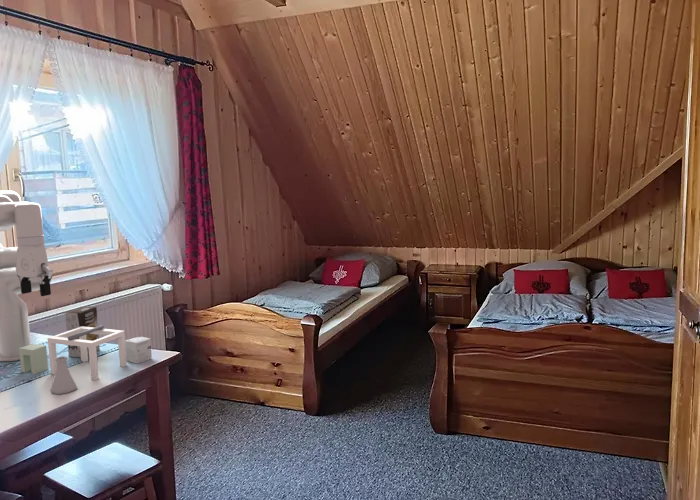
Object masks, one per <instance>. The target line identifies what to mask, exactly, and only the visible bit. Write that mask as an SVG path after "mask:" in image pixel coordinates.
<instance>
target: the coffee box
mask: <svg viewBox="0 0 700 500" xmlns="http://www.w3.org/2000/svg"><path fill="white" fill-rule="evenodd" d="M97 310H98V309H97V306H80V307H77V308H75V309H72V310H68V311H66V312H64V313H65V314H64V315H65V323H66V325H65V326H66V332H67V331H70V330H73V329H76V328H79V327H81V326H83V327H93V328H95V327H98V326H99V324H98V311H97ZM99 336H100V335H99V334H90V333H89V334H86V340H90V341H94V340H97V339H99ZM67 338H68V337H67ZM75 339H79V337H78V338H75ZM67 347H68V348H67V352H68V357H73V358H81V351H80V346H73V345H67ZM99 350H101V349H100V345H98V346H96V352H98V351H99ZM87 352H88V356H89V348H88V347H87Z"/></svg>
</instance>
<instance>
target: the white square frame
mask: <svg viewBox="0 0 700 500" xmlns="http://www.w3.org/2000/svg"><path fill="white" fill-rule="evenodd" d="M89 333H90V334H99V336H103V337H100V338H99V339H97V340H94V341H90V340H86V334H89ZM125 335H126V334H125V330H122V329H121V330H120V329H111V328H110V329H109V328H105V325H103V324H101V325H98V327H95V328H93V327H83V326H81V327H79V328H76V329H73V330H70V331H67V330H66V331H64V332H61V333H58V334H56V335H53V336H49V337H47V345H48V346H47V347H48V348H47V349H48V356H49V357H48V358H49V368H50V374H51V375H54V376H55V373H56V369H57V361H56V360H55V358H57V357H58V355H57V354H58V353H57V346H56V344H57V345H66V346H68V345H73V346H80V351H81V357H80V361H81V362H83V363H85V362H89V368H90V369H89V370H90V380H91V381H97V380H99V369H98V368H99V366H98V355H97V354H98V353H97V351H96V346H98V345H99V346H101V345H103V344H105V343H109V342H110V341H113V340H116V339H117V342H118V343H117V345H118V357H119V358H118V359H119V366H120V367H121V368H124V367H127V366H128V363H127V362H128V361H126V346H125V341H126V338H125V337H126V336H125ZM67 337H68V338H67ZM78 337H79V339H75V338H78ZM87 347H88V348H89V355H88V352H87Z"/></svg>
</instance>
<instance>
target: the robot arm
mask: <svg viewBox="0 0 700 500" xmlns="http://www.w3.org/2000/svg"><path fill="white" fill-rule="evenodd" d="M42 215H43V214H42V207H41V205H40V204H39V203H37V202H30V201H22V200H21V196H20V195H19V193H17V192H16V191H14V190H0V232H8V231H10V230H11V229H13V228H14V226H15V233H16V241H17V246H14V247H13V246H12V247H5V246H3V245H2V243H1V242H0V362H15V361H20V353H19V348H22V347H25V346H27V345H30V344H32V342H31V331H30V330H31V329H30V323H29V322H30V321H29V311H28V310H29V309H28V305H27V303H26V302H25V301H24V300H23V299H22V298H21V297H20V296H19V295H20V294H22V295H24V294H29V293H32V292H37V291H39V292H40V297H45V296H49V295H51V294H52V290H51V289H52V288H51V283H52V278H53V272H54V269H52V268H50V266H49V260H48V259H49V258H48V254H47V250H46V247H45V246H46V245H45V237H44V236H45V235H44V226H43V225H44V224H43V223H44V222H43V216H42Z"/></svg>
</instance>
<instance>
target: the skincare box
mask: <svg viewBox="0 0 700 500" xmlns="http://www.w3.org/2000/svg"><path fill="white" fill-rule="evenodd" d="M125 347H126V361H127V362H130V363H134V364H140V363H143V362H146V361H147V362H148V361H149V359H150V360H152V359H153V356H152V343H151V338H149V337H144V336H136V337H133V338H130V339H125Z"/></svg>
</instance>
